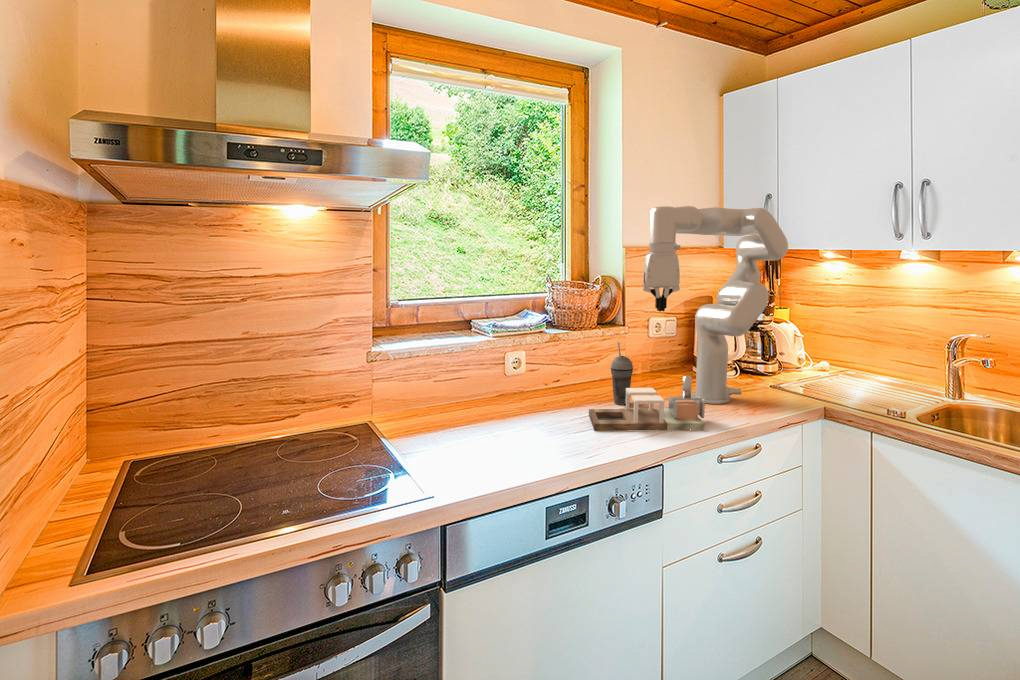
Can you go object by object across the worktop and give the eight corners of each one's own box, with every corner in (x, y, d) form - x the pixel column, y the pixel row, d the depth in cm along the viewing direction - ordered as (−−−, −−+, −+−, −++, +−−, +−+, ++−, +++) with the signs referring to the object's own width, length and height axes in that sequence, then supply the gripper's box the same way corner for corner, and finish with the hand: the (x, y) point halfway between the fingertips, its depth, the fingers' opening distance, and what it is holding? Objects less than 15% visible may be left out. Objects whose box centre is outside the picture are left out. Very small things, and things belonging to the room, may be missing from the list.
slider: (696, 411, 163) (698, 373, 161) (704, 418, 156) (705, 379, 154) (668, 411, 163) (669, 374, 162) (674, 418, 156) (675, 379, 155)
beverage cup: (630, 406, 177) (632, 344, 174) (608, 405, 179) (608, 343, 176) (634, 401, 184) (635, 341, 180) (611, 399, 186) (612, 340, 183)
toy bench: (652, 408, 167) (652, 387, 166) (663, 423, 153) (664, 400, 152) (625, 409, 168) (625, 387, 167) (634, 423, 153) (634, 400, 152)
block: (692, 412, 162) (692, 399, 162) (697, 418, 157) (698, 404, 156) (671, 413, 163) (671, 399, 162) (676, 418, 157) (676, 404, 157)
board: (688, 415, 167) (689, 408, 167) (703, 430, 153) (704, 423, 153) (588, 415, 168) (588, 409, 168) (594, 430, 154) (594, 423, 154)
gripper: (684, 248, 169) (682, 309, 172) (634, 249, 169) (633, 309, 172) (691, 248, 161) (689, 311, 164) (639, 249, 162) (638, 312, 165)
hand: (660, 310), depth 168 cm, fingers closed
